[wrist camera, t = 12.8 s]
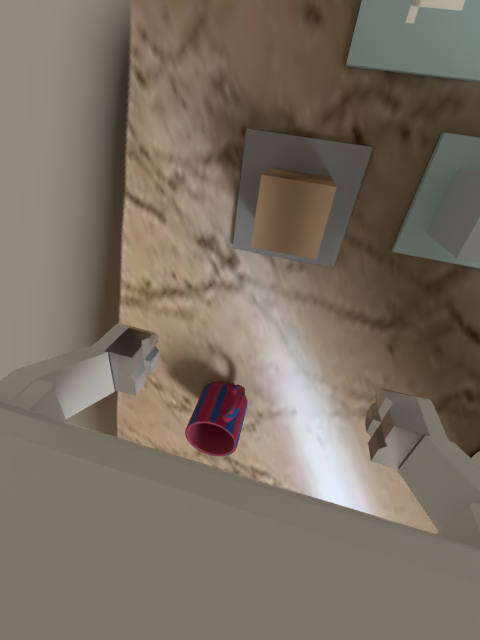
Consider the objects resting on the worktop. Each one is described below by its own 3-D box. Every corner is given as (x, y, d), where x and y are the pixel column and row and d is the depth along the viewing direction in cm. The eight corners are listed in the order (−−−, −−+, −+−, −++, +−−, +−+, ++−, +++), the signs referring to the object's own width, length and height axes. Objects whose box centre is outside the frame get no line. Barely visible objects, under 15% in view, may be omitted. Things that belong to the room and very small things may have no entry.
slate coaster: (371, 146, 22) (373, 147, 22) (333, 265, 28) (333, 268, 27) (247, 128, 24) (246, 128, 23) (234, 246, 29) (232, 248, 29)
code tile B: (575, 151, 20) (582, 151, 20) (497, 269, 25) (500, 272, 25) (441, 132, 21) (444, 132, 21) (391, 250, 26) (392, 252, 26)
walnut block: (331, 177, 24) (336, 187, 19) (315, 237, 26) (316, 259, 21) (272, 167, 24) (261, 174, 19) (262, 227, 27) (250, 246, 22)
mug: (194, 397, 43) (176, 436, 37) (231, 360, 37) (217, 399, 32) (230, 421, 44) (218, 462, 38) (271, 388, 38) (264, 431, 33)
